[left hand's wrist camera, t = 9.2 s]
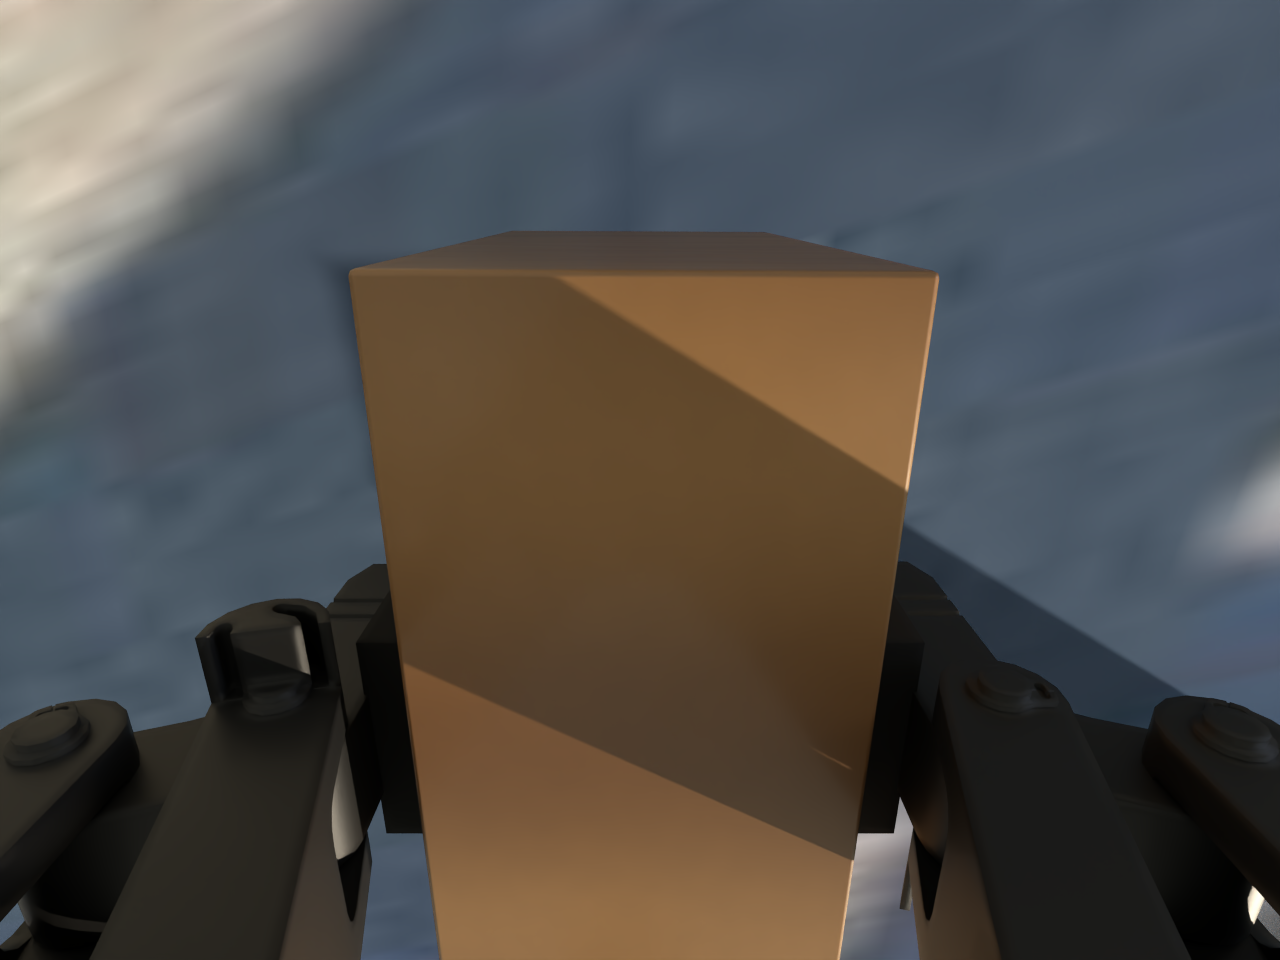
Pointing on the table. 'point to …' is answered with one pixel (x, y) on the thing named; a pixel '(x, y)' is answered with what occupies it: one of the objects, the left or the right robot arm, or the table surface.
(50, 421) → the table surface
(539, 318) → the beam
